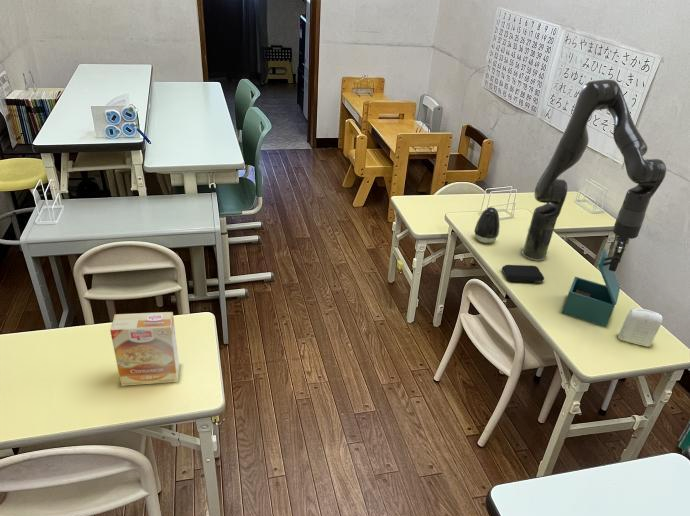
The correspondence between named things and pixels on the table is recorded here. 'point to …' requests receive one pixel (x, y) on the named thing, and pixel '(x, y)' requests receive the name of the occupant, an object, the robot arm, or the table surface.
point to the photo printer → (640, 327)
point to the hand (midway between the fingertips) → (612, 266)
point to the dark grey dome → (487, 226)
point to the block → (583, 293)
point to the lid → (609, 276)
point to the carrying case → (523, 273)
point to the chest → (589, 302)
